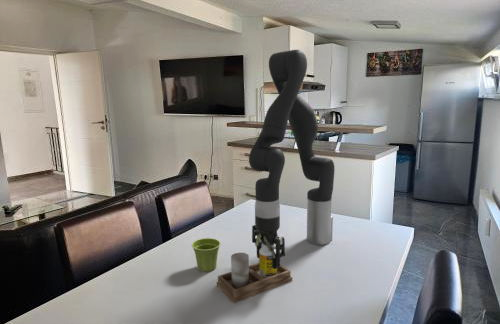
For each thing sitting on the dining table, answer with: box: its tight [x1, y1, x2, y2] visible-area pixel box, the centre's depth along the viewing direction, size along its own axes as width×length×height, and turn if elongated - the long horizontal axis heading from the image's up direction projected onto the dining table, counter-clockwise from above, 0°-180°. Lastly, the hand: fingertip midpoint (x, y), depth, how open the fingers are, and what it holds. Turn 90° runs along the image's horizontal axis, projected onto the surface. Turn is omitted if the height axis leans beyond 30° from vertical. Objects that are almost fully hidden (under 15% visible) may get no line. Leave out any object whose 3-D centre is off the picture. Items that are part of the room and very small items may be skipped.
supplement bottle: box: [258, 243, 277, 278], centre depth 104 cm, size 6×6×10 cm
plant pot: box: [191, 237, 221, 273], centre depth 112 cm, size 9×9×9 cm
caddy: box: [215, 252, 293, 304], centre depth 102 cm, size 21×11×10 cm, turn 122°
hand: (267, 262), depth 105 cm, fingers open, 8 cm apart
